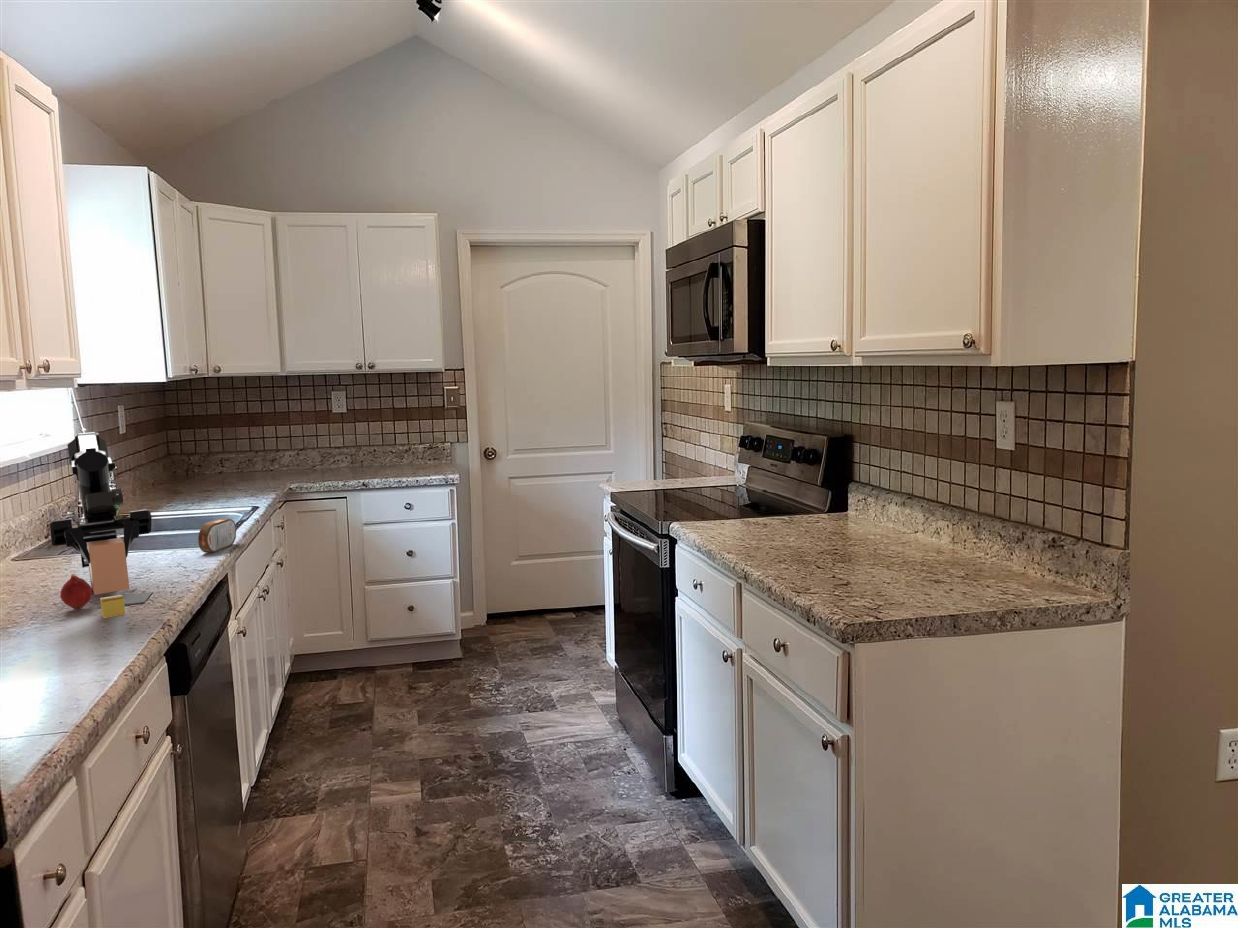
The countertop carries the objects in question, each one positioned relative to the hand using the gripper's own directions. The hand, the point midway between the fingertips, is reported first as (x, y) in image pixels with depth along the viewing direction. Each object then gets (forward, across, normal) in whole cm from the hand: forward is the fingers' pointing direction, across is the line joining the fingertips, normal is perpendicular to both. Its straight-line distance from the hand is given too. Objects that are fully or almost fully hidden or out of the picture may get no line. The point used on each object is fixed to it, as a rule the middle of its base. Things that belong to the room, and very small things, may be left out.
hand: (107, 559), depth 188 cm
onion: (+1, -6, +16) cm, 17 cm away
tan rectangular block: (+4, 0, +6) cm, 7 cm away
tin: (-30, +31, +48) cm, 65 cm away
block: (+8, 0, +10) cm, 12 cm away
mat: (0, +3, +17) cm, 17 cm away
